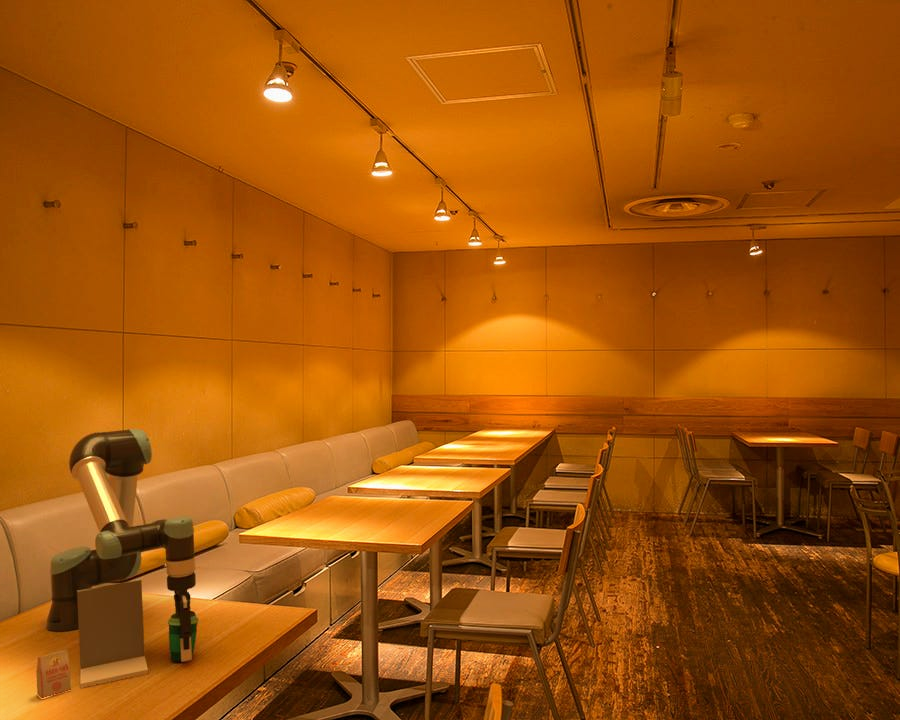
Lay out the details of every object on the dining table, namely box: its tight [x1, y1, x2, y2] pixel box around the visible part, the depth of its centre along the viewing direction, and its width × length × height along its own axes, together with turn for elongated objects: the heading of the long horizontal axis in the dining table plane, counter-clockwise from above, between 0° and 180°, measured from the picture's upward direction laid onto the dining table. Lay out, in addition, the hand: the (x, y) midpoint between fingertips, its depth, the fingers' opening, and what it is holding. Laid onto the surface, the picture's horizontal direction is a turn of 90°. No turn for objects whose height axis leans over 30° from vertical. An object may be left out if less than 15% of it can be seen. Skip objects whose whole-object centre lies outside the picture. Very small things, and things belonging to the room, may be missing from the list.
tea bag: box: [35, 649, 72, 698], centre depth 185 cm, size 4×7×10 cm, turn 134°
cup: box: [167, 610, 200, 664], centre depth 204 cm, size 8×8×12 cm
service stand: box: [77, 580, 149, 689], centre depth 196 cm, size 12×16×22 cm
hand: (184, 655), depth 204 cm, fingers closed on cup, 7 cm apart
